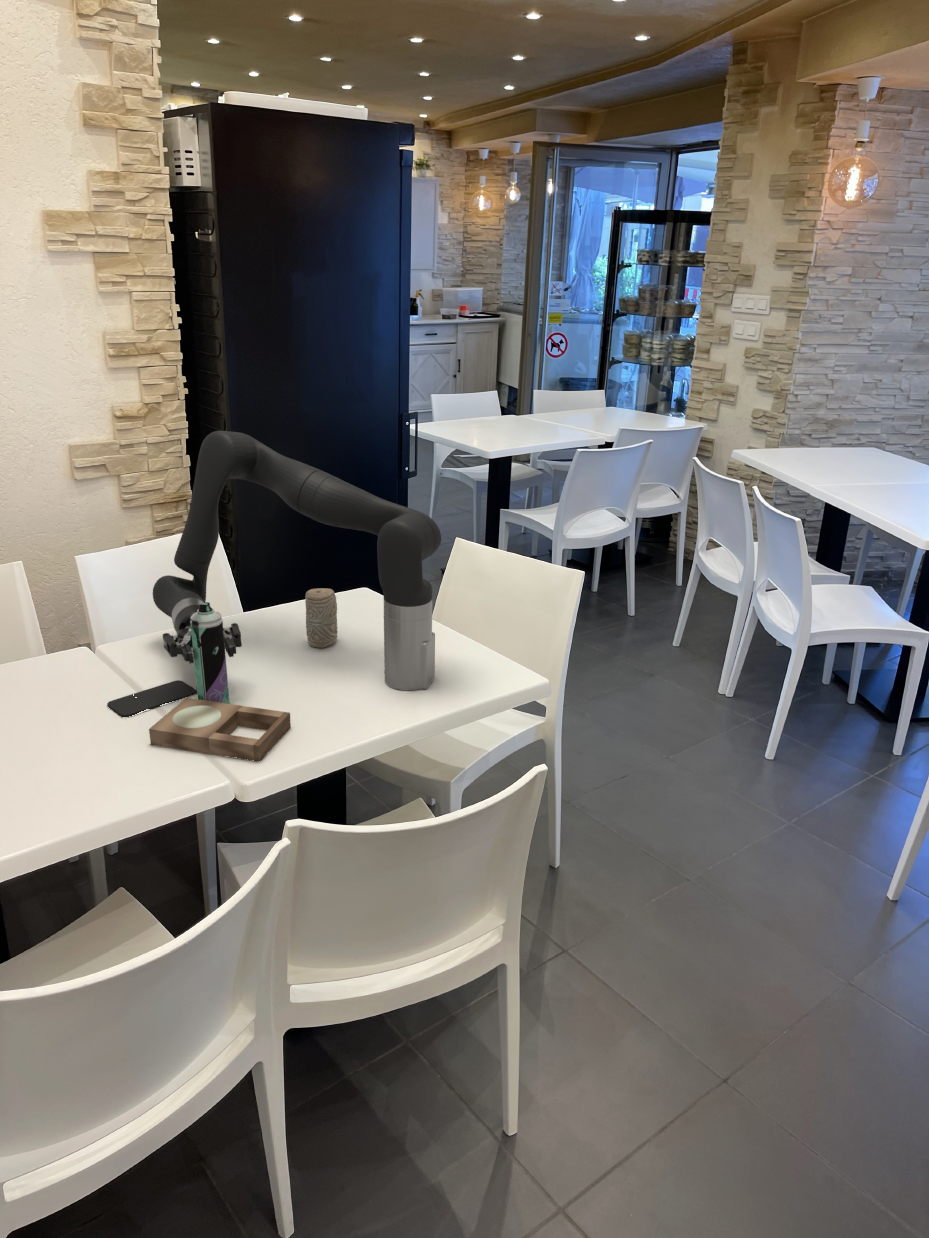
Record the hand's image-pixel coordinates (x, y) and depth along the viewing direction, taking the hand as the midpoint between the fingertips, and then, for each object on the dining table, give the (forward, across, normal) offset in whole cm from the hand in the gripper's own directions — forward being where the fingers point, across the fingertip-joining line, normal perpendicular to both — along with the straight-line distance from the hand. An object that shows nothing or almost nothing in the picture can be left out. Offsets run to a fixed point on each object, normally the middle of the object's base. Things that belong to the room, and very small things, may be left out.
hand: (211, 655), depth 159 cm
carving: (-22, +27, +11) cm, 36 cm away
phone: (-9, -10, +12) cm, 18 cm away
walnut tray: (+10, -1, +11) cm, 15 cm away
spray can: (-2, 0, +11) cm, 11 cm away
